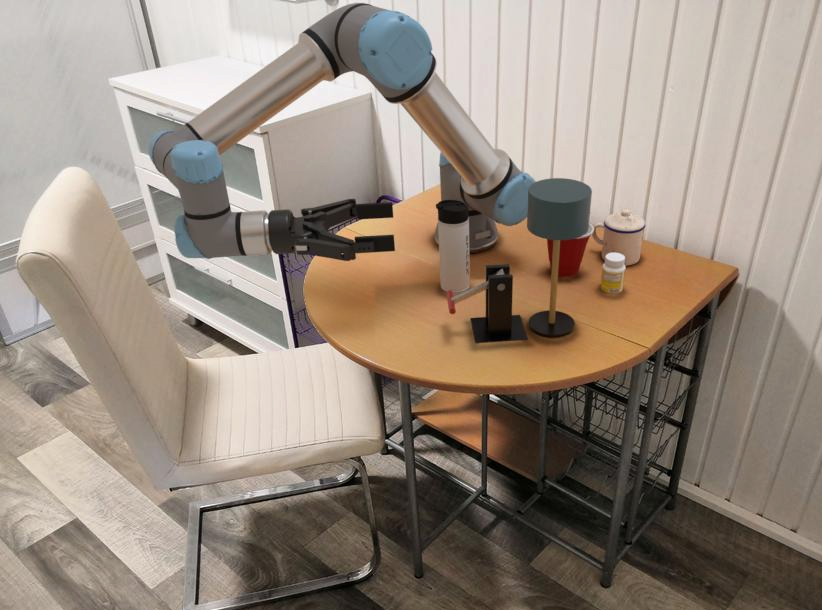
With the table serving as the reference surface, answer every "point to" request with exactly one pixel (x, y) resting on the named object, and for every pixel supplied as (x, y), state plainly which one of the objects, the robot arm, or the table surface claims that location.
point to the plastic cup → (570, 253)
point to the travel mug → (453, 245)
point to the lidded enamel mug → (622, 235)
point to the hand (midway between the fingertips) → (393, 225)
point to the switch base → (498, 310)
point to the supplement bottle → (613, 273)
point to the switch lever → (467, 293)
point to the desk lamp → (557, 238)
